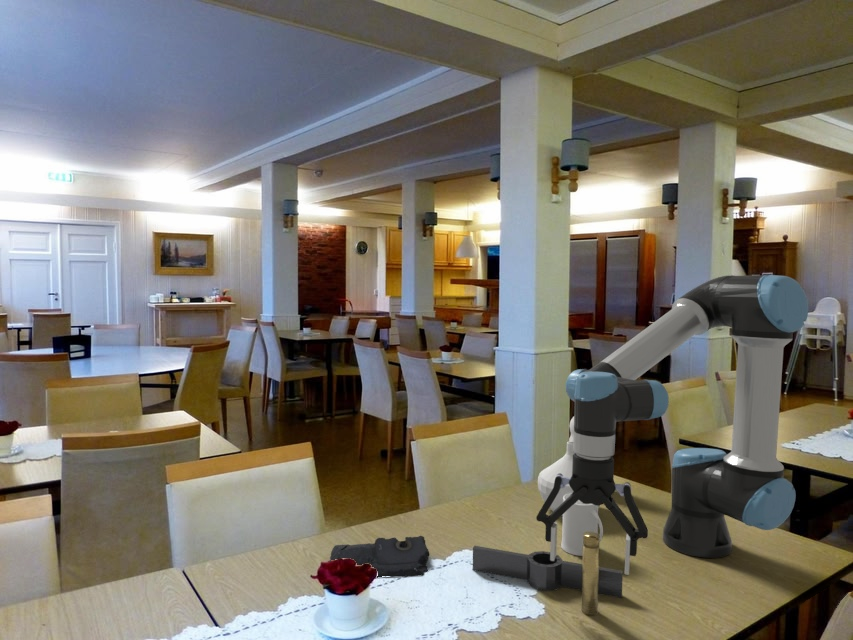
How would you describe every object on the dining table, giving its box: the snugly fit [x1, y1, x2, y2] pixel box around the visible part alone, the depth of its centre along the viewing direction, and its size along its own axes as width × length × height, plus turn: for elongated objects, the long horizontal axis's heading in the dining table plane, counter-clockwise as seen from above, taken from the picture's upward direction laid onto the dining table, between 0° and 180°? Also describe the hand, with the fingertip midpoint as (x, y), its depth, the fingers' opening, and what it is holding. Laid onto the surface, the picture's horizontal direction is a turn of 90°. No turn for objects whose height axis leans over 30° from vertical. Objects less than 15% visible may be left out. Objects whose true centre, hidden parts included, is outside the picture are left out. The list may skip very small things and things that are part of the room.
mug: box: [560, 493, 604, 557], centre depth 139 cm, size 12×8×12 cm
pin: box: [580, 532, 601, 617], centre depth 113 cm, size 3×3×15 cm
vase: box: [537, 440, 600, 517], centre depth 163 cm, size 18×18×19 cm
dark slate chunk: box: [329, 535, 431, 579], centre depth 133 cm, size 15×22×5 cm
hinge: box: [472, 545, 624, 599], centre depth 124 cm, size 31×7×5 cm, turn 69°
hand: (589, 564), depth 113 cm, fingers open, 13 cm apart
